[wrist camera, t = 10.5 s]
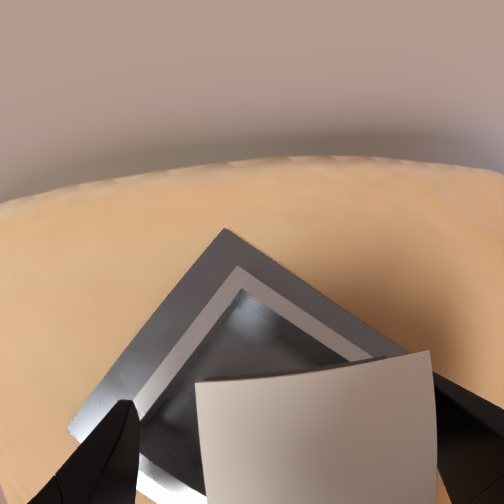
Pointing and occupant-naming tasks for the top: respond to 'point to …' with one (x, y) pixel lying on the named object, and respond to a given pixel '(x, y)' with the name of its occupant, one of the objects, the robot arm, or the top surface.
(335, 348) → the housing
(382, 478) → the plug
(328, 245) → the top surface
